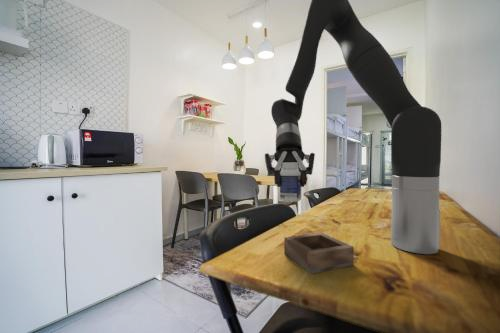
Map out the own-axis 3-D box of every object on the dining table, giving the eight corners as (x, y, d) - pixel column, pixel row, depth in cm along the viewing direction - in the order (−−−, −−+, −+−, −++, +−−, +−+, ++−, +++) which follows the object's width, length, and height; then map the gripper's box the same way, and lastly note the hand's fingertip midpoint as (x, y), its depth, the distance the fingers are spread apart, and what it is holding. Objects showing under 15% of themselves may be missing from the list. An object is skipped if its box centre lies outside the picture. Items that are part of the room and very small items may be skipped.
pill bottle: (303, 202, 55) (302, 162, 55) (281, 202, 56) (280, 162, 55) (298, 198, 61) (298, 162, 61) (278, 198, 61) (278, 162, 61)
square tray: (320, 247, 54) (320, 232, 54) (353, 264, 45) (353, 246, 45) (284, 253, 51) (284, 237, 51) (311, 273, 42) (311, 254, 41)
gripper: (263, 131, 66) (261, 174, 54) (314, 130, 64) (322, 174, 53) (264, 150, 71) (262, 193, 60) (311, 150, 70) (318, 194, 58)
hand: (290, 184), depth 56 cm, fingers closed on pill bottle, 5 cm apart
